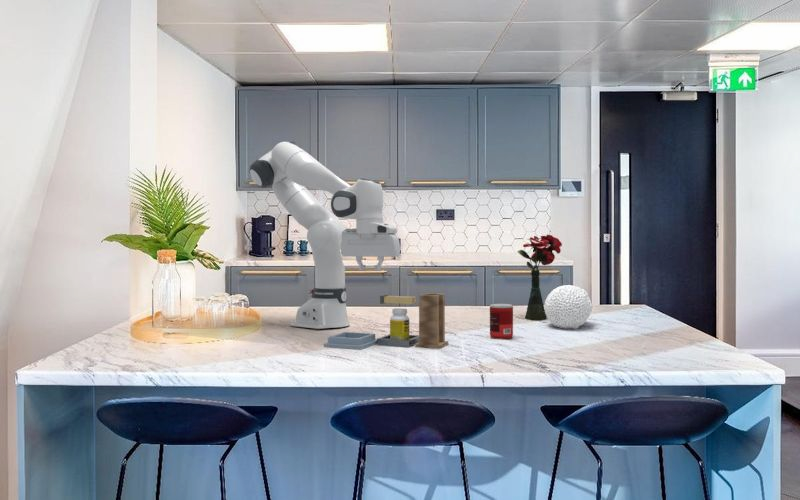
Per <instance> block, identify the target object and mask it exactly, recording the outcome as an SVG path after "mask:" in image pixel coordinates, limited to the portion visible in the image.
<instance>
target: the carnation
mask: <svg viewBox="0 0 800 500" xmlns="http://www.w3.org/2000/svg"><path fill="white" fill-rule="evenodd" d="M539 237H540V239H539ZM539 237H538V236H536V235H533V237H532V236H531V237H530V236H529V238H528V237H526V240H528V241H529V242H530V243H529V242H525V243H524V244H523V245H522V247H523V248H529V247H531V248H530V250H529V251H531V250H532V254H531V257H530V255H529V253H528V252H527V251H525V250H524V249H518V250H517V253H518V254H519V255H520V256H522V257H523V258H525V259H528V260H529V261H526V266H527V267H528V268H529V269H531V270H530V275H531V288H530V293H529V299H528V303H527V308H526V312H525V316H524V319H525V320H529V321H545V320H548V317H547V315H546V312H545V308H544V306H545V304H544V302H543V297H542V291H541V287H540V273H541V272H540V269H539V267H540V263H541V265H542V266H548V265H551V264H552V263H553V262H554V260H555V257H556V256H555V254H554V252H555V253H556V254H560V253H561V247H562V246H563V244H562V241H561V240H560V239H559V238H557V237H555V236H553V235H552V234H546V235H541V236H539ZM553 251H554V252H553ZM532 262H533V263H534V266H533V264H532Z"/></svg>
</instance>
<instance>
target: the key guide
mask: <svg viewBox="0 0 800 500" xmlns="http://www.w3.org/2000/svg"><path fill="white" fill-rule="evenodd" d="M445 300H446V299H445V293H429V292H428V293H427V292H426V293H425V294H419V295H418V335H419V342H418V343H416V344H415V345H414V346H415V347H416V348H427V349H442V348H444V347H446V346H448V345H449V340H446V339H445V338H446V337H445V336H446V334H445V333H446V331H445V330H446V326H445V324H446V317H445V316H446V314H445V312H446V311H445V310H446V309H445V308H446V306H445V305H446V304H445V303H446V302H445Z"/></svg>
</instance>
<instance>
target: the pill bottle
mask: <svg viewBox="0 0 800 500" xmlns="http://www.w3.org/2000/svg"><path fill="white" fill-rule="evenodd" d="M407 314H408V309H407V308H401V307H399V308H393V309H392V315H391V316H390V319H389V326H390V327H389V334H390V339H397V340H409V335H410V317H409V316H408V315H407Z"/></svg>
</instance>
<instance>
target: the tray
mask: <svg viewBox="0 0 800 500" xmlns="http://www.w3.org/2000/svg"><path fill="white" fill-rule="evenodd" d="M327 341H328V342H324V343H323V347H324V348H336V349H337V348H338V349H346V350H347V349H349V350H360V351H362V350H363V349H367V348H370V347H372V346H375V345H377V338H376V333H369V332H355V331H354V332H352V331H351V332H350V331H343V332H340V333H337V334H336V333H335V334H333V335H330V336H328V338H327Z"/></svg>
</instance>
